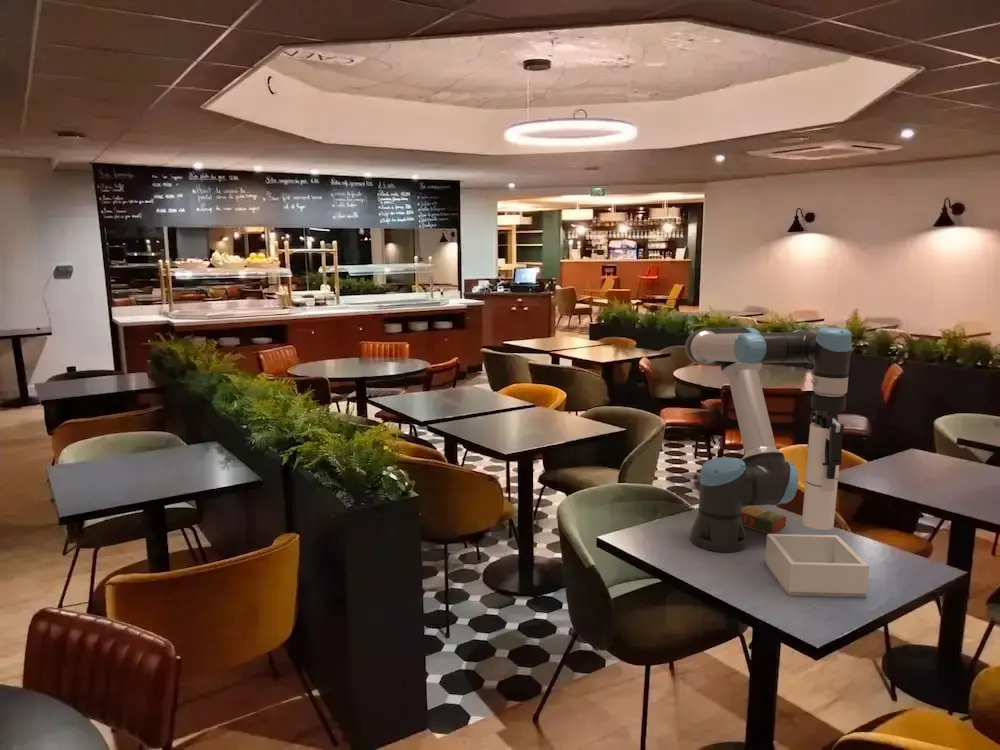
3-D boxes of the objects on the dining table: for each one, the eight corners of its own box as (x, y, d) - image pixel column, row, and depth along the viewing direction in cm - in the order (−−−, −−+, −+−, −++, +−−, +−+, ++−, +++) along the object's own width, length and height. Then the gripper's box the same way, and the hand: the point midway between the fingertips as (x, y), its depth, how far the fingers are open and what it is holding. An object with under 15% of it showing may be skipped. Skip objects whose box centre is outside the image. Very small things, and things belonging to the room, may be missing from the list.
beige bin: (765, 562, 189) (767, 533, 188) (834, 564, 188) (837, 535, 187) (788, 595, 172) (791, 564, 170) (865, 597, 171) (869, 566, 169)
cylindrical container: (836, 530, 173) (846, 430, 169) (805, 528, 175) (813, 428, 170) (829, 519, 180) (838, 422, 176) (799, 517, 182) (807, 421, 177)
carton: (737, 513, 225) (738, 500, 224) (786, 528, 213) (787, 514, 212) (722, 519, 219) (723, 506, 218) (771, 536, 207) (772, 521, 207)
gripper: (798, 384, 181) (791, 471, 186) (829, 402, 162) (821, 499, 166) (828, 385, 181) (820, 472, 185) (864, 402, 161) (854, 500, 165)
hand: (821, 485), depth 176 cm, fingers closed on cylindrical container, 7 cm apart
